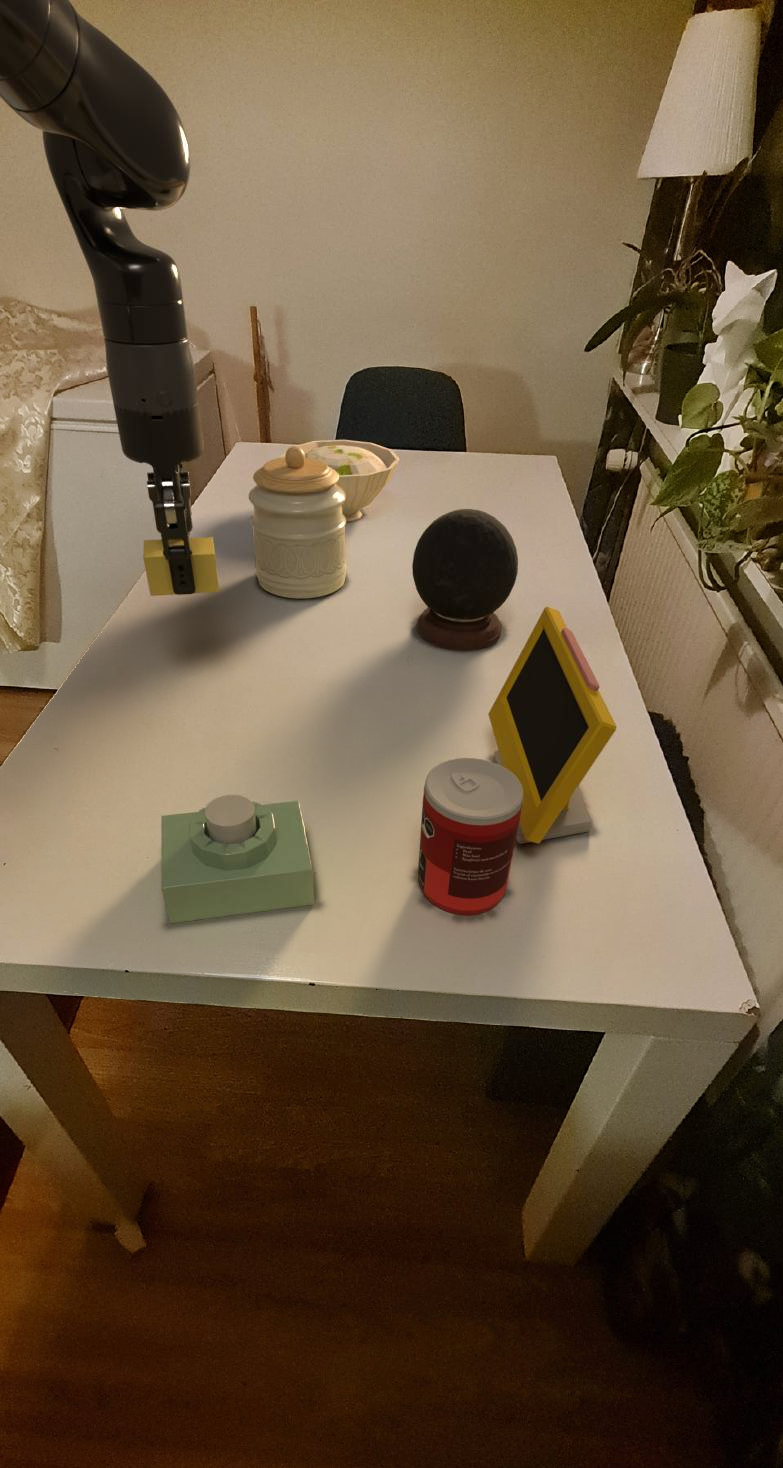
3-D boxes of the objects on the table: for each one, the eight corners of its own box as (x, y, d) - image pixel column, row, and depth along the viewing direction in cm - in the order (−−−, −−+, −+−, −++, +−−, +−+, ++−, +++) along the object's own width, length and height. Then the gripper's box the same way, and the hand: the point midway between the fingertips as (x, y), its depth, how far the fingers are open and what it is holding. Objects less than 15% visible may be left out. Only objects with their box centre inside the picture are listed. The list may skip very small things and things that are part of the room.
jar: (237, 582, 110) (222, 447, 98) (298, 555, 118) (291, 426, 106) (305, 609, 105) (298, 470, 93) (364, 578, 112) (365, 446, 100)
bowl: (314, 543, 121) (311, 475, 114) (266, 503, 133) (261, 440, 126) (419, 524, 128) (422, 459, 121) (365, 488, 140) (365, 427, 133)
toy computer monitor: (484, 741, 84) (503, 602, 73) (554, 739, 84) (584, 602, 73) (519, 868, 69) (549, 720, 58) (604, 866, 70) (649, 719, 59)
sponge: (150, 596, 79) (143, 557, 76) (150, 578, 82) (143, 540, 80) (219, 592, 80) (214, 553, 78) (217, 574, 84) (212, 536, 81)
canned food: (446, 843, 72) (456, 745, 64) (522, 879, 68) (542, 781, 61) (399, 890, 67) (404, 791, 59) (477, 931, 64) (494, 832, 56)
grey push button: (209, 847, 62) (205, 828, 61) (207, 816, 65) (203, 797, 63) (258, 842, 63) (256, 823, 61) (254, 810, 66) (252, 792, 64)
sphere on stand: (503, 660, 96) (521, 538, 86) (400, 647, 98) (405, 526, 88) (512, 613, 106) (529, 499, 95) (418, 602, 107) (425, 488, 97)
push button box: (170, 923, 64) (157, 871, 59) (169, 850, 70) (157, 799, 66) (314, 904, 66) (311, 853, 61) (301, 835, 72) (297, 784, 68)
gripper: (115, 379, 74) (148, 558, 86) (108, 419, 64) (146, 615, 75) (195, 378, 75) (216, 554, 87) (201, 417, 65) (224, 610, 77)
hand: (184, 582), depth 81 cm, fingers closed on sponge, 4 cm apart
